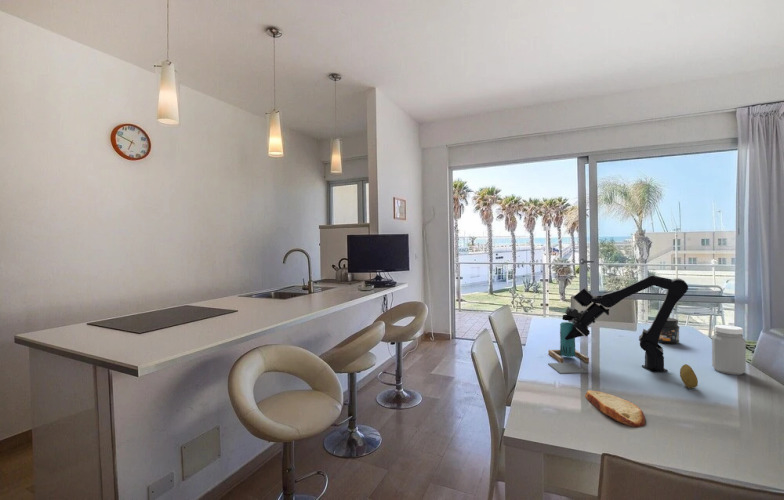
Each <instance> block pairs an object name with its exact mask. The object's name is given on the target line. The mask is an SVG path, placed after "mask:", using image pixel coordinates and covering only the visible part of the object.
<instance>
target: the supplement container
mask: <svg viewBox="0 0 784 500" xmlns="http://www.w3.org/2000/svg"><path fill="white" fill-rule="evenodd" d="M658 343H660V344H664V345H677V344H679V343H680V326H679V319H677V318H672V317H669V318H668V319H667V321H666V323H665V325H664V327H663V329H662V331H661V333H660V337H659V341H658Z"/></svg>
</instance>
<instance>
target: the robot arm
mask: <svg viewBox="0 0 784 500" xmlns="http://www.w3.org/2000/svg"><path fill="white" fill-rule="evenodd" d="M688 285H689V284H688V283H687V282H686V281H685V280H684V279H682V278H672V279H671V278H667V277H664V276H663V277H662V276H656V275H654V274H651V275H648V276H647V277H645V278H643V279H640V280H638V281H636V282H634V283H631V284H629V285H627V286H625V287H623V288H620V289H617V290H612V291H609V292H605V293H604V294H601V295H592V293H591V292H589V291H588V290H587V289H586V287H585V288H583V289H582V290H580V291H579V292H577V293H576V294H575V295H574V296H573V297H572V299H573V300H575V301H576V302H577V304H579V305H580V306H581V307H586V309H584V310H580V311H578V309H576V308H572V307H569V306H567V307H566V309H565V312H564V314H565V315H569V316H572V320H571V321H567V322H572V323H573V324H574V325H572V330H571V331H570V332H569V333H568V335H567V336H566V337H565V339H566V340H569V339H573V338H575V339H576V338H579V337H584V336H585V337H588V336H589V335H590V334H591V333H590V332H591V331H590V330H589V326H590V325H591V324H595V323H596V320H597V319H599V317H601V316H602V315H603V314H606V316H610V309H609V308H612V307H614V306H616V304H618V303H620V302H621V301H622V300H624V299H626V298H628V297H631V296H632V295H634V294H636V293H638V292H641V291H643V290H646V289H648V288H650V287H653V286H655V287H657V288H661V289H664V290H666V295H665V298H664V300H663V302H662V303H661V306H660V307H659V309H658V311H657V314H655V317H654V319H653V321H652V324H650V327H649V328H648V329H647V330H646V329H645V328H643V329H642V333H641V334H640V335H639V336H638V341H639V346H640V349H642V350H643V351H645V352H644V364H642V365H641V367H642V368H644V369H646V370H648V371H650V372H652V373H653V372H654V373H657V372H661V373H662V372H669V371H668V369H666V368H665V356H664V348H663V347H662V346H661V345H660V344H659V342H658V341H659V337H660V333H661V331H662V329H663V327H664V325H665V323H666V321H667V319H668V318H670V315H671V313H672V312H673V309H674V308H675V306H676V304H677V303H678V302H679V301H680V300H681V299H682V298H683V297H684V296H685V294H686V293H687V292H688V290H689V286H688Z"/></svg>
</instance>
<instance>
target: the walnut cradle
mask: <svg viewBox="0 0 784 500" xmlns="http://www.w3.org/2000/svg"><path fill="white" fill-rule="evenodd" d="M547 350H548V355H549V356H551V358H554V359H555V360H556V361H557V362H558V363H565V362H564V360H565V359H564V357H563V356H562V355H561V351H560V349H547ZM575 352H576V353H575V354H576V355H575V356H574V357H577V358H579V359H580V360H582V361H583V362H584V363H590V358H589V357H588V356H586V355H584V353H583V354H582V353H581V352H580V351H578V350H577V349H576V350H575Z"/></svg>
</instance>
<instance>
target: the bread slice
mask: <svg viewBox="0 0 784 500" xmlns="http://www.w3.org/2000/svg"><path fill="white" fill-rule="evenodd" d="M584 398H586V400H587V399H588V400H587V401H588V402H589V403H590V404H591V405H592V406H594V407H595V408H596V409H597V410H598V411H600V412H601V413H603V414H604V415H606V416H607V417H609V418H610V419H612V420H615V421H616V422H618V423H620V424H622V425H625V426H628V427H633V428H641V427H643V426H644V427H645V425H646V415H645V414H644V411H643V410H642V409H641V408H640V407H639V406H638V405H636V404H635V403H634V402H633V403H632V402H631V401H629V400H627V399H623V398H622V397H621V398H620V397H618V396H616V395H613V394H609V393H606V392H603V391H597V390H590V389H589V390H587V391H586V393H585V395H584Z"/></svg>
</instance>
